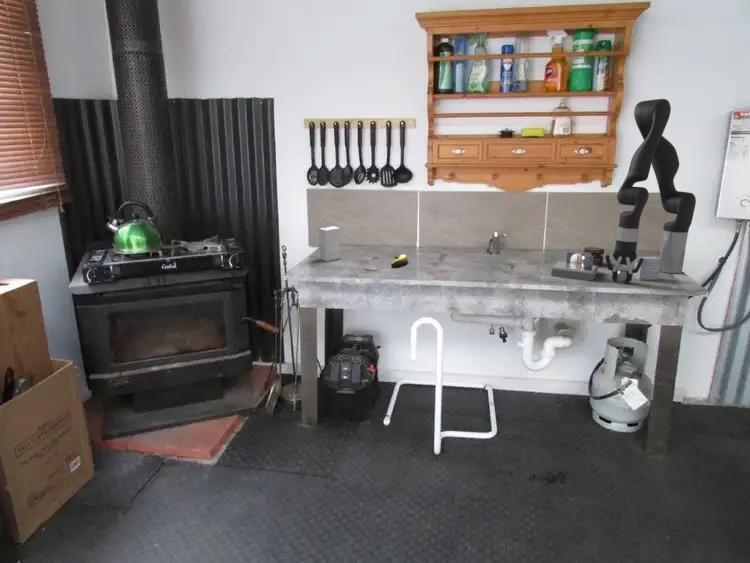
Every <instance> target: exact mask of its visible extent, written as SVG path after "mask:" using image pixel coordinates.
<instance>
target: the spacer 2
mask: <svg viewBox="0 0 750 563" xmlns="http://www.w3.org/2000/svg"><path fill="white" fill-rule="evenodd" d="M628 273H629V270H628V268H617V270H616V279H615V281H614V282H615V283H616V282H618V283H617V284H620V283H626V284H628V283H627V279H628Z"/></svg>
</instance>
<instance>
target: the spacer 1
mask: <svg viewBox="0 0 750 563" xmlns="http://www.w3.org/2000/svg"><path fill="white" fill-rule="evenodd" d="M592 264H593V256H592V255H582V256H581V267H580V268H581V269H587V270H588V269H592Z"/></svg>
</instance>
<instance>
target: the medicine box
mask: <svg viewBox="0 0 750 563" xmlns="http://www.w3.org/2000/svg"><path fill="white" fill-rule="evenodd" d="M639 257H640V258H644V260H643V262H642V264H641V266H640V268H639V270H638V272H637V273H633V278H635V279H636V280H638V281H650V280H651V281H656V280H657V281H659V274H660V271H659V270H660V264H661V259H659V257H658V256H639ZM637 264H638V263H637V259H635V265H634V269H635V268H636V266H637Z"/></svg>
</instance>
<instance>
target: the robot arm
mask: <svg viewBox="0 0 750 563" xmlns="http://www.w3.org/2000/svg"><path fill="white" fill-rule="evenodd" d="M671 108H672V106H671V103H670V101H669V100H668V99H667V98H657V99H649V100H642V101H639V102H638V103H637V104H636V105H635V107H634V110H633V111H634V112H633V116H634V120H635V124H636V126H637V128H638V130H639V132H640V134H641V137H642V140H643V141H642V142H641V143H640V145H639V147H637V149H636V150H635V152H634V153H633V155H632V157H631V160H630V163H629V167H628V172H627V174H626V176H625V179H624V181H623V182H622V184H621V185H620V188H619V189H618V192H617V194H616V199H617V203H619V204H620V205H624V206H634V208H633V209H632V210H627V211H626V210H625V211H621V213H620V214H619V221H618V228H617V231H616V237H615V238H616V240H615V247H614V251H613V253H607V254H606V255H605V260H606V267H607V269H608V270H609V271H611V272H612V273H611V274H612V275H611V280H613V282H615V279H616V271H617V269H618V267H619V265H625V266H627V270H629V273H628V279H627V283H626V284H629V283H630V282H631V281H632V280H633V279H632V278H633V275H634V273H637V272H638V270H639V268H640V266H641V264H642V262H643V260H644V258H640V257H641V256H638V255H637V249H638V248H637V247H638V243H639V242H638V240H639V228H640V222H641V217H642V214H643V211H644V208H645V206H646V204H647V202H648V200H649V195H650V193H649V190H648V189H647V187H643V186H634V185H635V184H636V183H640V182H645V181H647V180H648V178H649V175H650V172H651V167H652V169H653V172H654V175H655V178H656V183H657V185H658V190H659V194H660V195H659V196H660V203H661V206H662V208H663V210H664V211H665V212H666V213H669V214H674V215H676V216H675V219H673V220H672V221H667V222H665V223H664V224H663V228H662V236H661V241H660V248H659V255H658V258H659V259H661V264H660V270H659V272H662V273H668V274H682V273H683V267H684V260H685V255H686V249H687V247H686V246H687V242H688V238H689V237H688V236H689V230H690V227H691V224H692V223H693V218H694V213H695V209H696V203H697V200H696V199H697V198H696V195H695V194H694V193H693V192H689V191H679V190H677V188H676V186H675V182H674V181H675V180H674V179H675V177H676V175H677V173H678V170H679V169H680V168H679V167H680V158H679V156H678V155H679V154H678V153H677V149H676V147H675V146H674V145H673V144H672V143H671V142H670V141H669V140H668V139H667V138H665V136H664V135H663V134H664V132H665V130H666V127H667V125H668V122H669V119H670V116H671V112H672V111H671ZM612 259H614V260H615V261H616V262H615V264H614V266H612V261H611V260H612ZM636 259H637V263H638V264H637V266H636V268H635V267H634V268H633V264H632V263H633V262H634V261H636Z"/></svg>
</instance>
